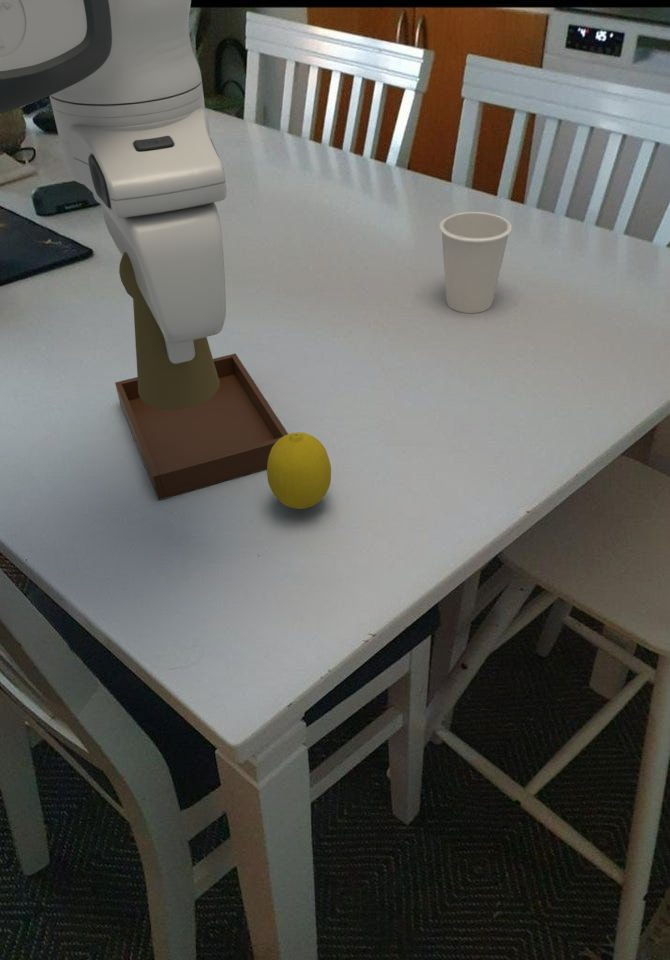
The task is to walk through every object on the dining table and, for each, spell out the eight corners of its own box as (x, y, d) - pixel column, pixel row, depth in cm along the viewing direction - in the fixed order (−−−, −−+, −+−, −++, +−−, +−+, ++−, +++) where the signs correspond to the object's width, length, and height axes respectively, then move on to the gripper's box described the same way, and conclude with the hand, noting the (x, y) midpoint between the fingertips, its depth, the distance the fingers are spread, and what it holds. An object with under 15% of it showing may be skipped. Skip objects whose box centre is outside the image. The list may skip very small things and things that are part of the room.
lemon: (264, 524, 71) (256, 452, 66) (278, 484, 75) (271, 413, 70) (327, 530, 70) (322, 457, 65) (337, 489, 74) (334, 417, 69)
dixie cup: (454, 281, 106) (459, 206, 99) (513, 296, 102) (523, 219, 96) (423, 308, 100) (427, 230, 94) (485, 324, 97) (493, 244, 90)
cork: (122, 400, 59) (89, 258, 52) (165, 360, 64) (141, 224, 57) (194, 416, 57) (170, 271, 50) (234, 374, 62) (216, 235, 55)
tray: (158, 500, 74) (152, 476, 72) (120, 404, 86) (114, 382, 84) (293, 461, 78) (291, 438, 76) (238, 375, 90) (235, 353, 88)
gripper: (57, 102, 56) (100, 288, 64) (115, 199, 41) (159, 422, 50) (148, 91, 58) (177, 273, 66) (234, 179, 43) (257, 398, 52)
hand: (170, 338), depth 58 cm, fingers closed on cork, 4 cm apart
